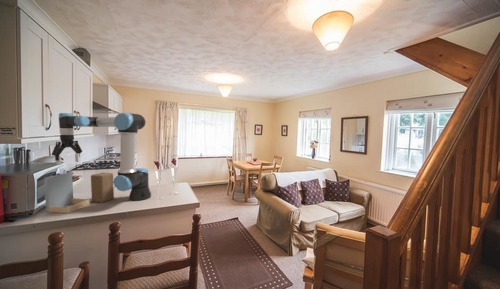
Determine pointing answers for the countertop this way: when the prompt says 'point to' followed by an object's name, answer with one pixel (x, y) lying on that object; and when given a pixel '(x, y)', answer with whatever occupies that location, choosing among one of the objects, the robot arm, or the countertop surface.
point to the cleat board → (61, 194)
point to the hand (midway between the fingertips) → (68, 163)
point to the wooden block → (102, 187)
